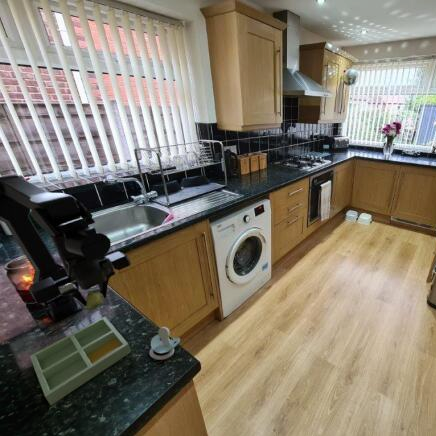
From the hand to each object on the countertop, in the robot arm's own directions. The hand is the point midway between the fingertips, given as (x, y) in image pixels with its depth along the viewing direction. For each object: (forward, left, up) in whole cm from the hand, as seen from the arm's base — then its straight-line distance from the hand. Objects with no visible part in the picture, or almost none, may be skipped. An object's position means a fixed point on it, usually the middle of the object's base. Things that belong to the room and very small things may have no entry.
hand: (95, 301), depth 63 cm
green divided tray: (+4, -7, -11) cm, 13 cm away
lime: (0, 0, -1) cm, 1 cm away
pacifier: (+18, +6, -11) cm, 22 cm away
